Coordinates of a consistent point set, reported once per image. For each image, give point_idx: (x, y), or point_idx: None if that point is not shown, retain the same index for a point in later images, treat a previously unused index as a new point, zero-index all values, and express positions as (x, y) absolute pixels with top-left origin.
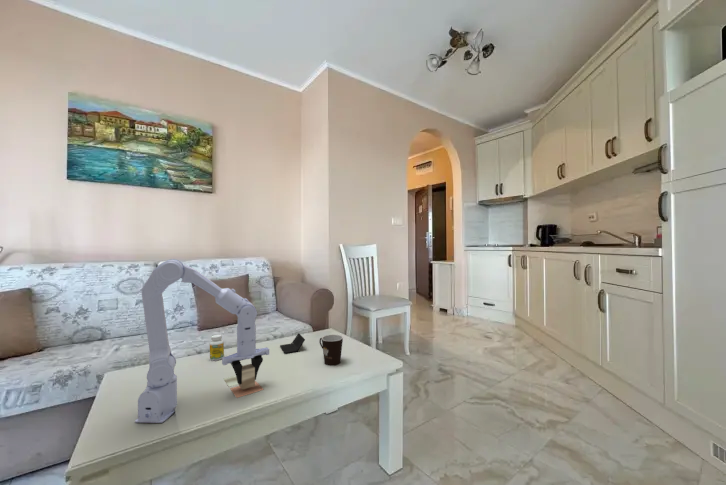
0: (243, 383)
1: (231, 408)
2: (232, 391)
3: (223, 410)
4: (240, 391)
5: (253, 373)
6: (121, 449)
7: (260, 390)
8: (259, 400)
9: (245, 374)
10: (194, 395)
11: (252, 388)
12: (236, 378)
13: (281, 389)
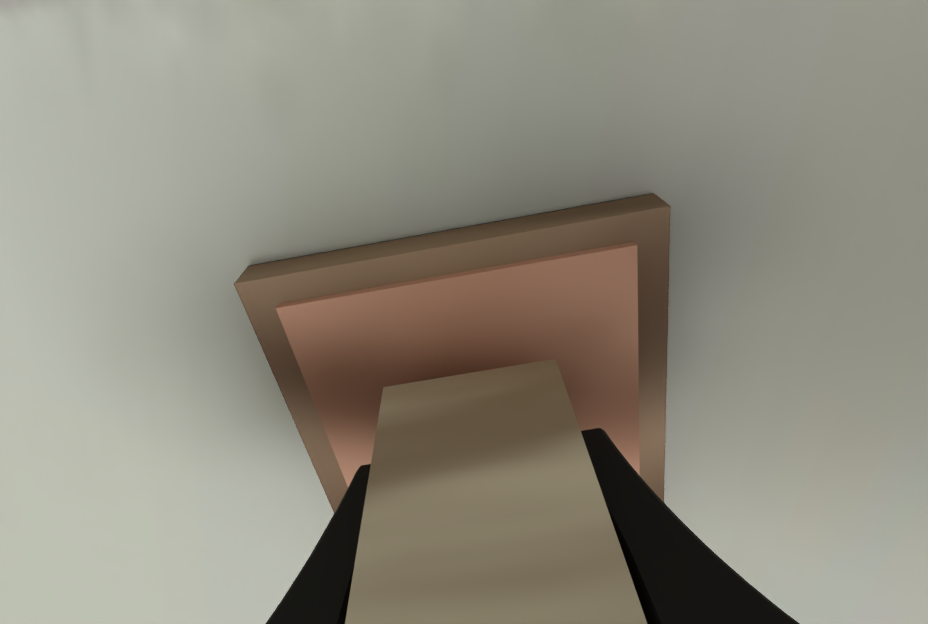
0: (554, 415)
1: (722, 82)
2: (635, 416)
3: (819, 81)
4: None
5: (383, 543)
6: None
7: (319, 299)
8: (351, 118)
9: (546, 540)
10: (897, 513)
11: None
12: None
13: (57, 278)
